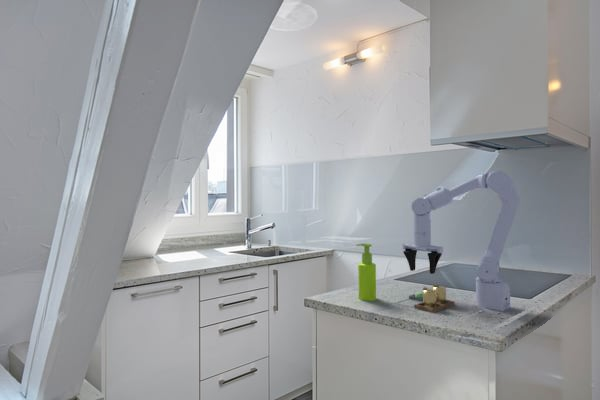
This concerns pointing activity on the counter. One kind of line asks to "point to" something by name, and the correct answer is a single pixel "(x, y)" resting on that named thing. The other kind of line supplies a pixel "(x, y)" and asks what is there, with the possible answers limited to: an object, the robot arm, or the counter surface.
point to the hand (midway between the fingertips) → (422, 271)
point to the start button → (419, 294)
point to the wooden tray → (437, 308)
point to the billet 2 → (440, 294)
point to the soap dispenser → (367, 275)
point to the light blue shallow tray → (405, 300)
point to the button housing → (415, 298)
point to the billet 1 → (429, 297)
